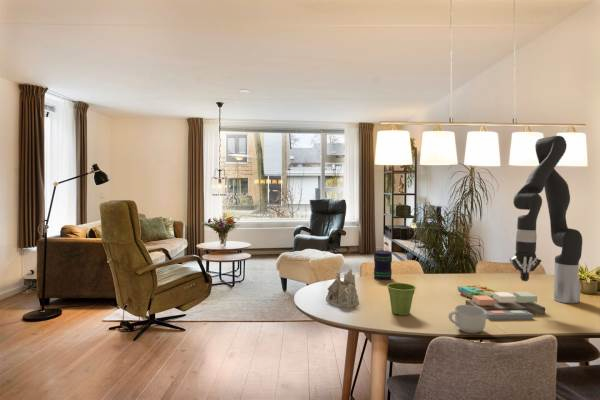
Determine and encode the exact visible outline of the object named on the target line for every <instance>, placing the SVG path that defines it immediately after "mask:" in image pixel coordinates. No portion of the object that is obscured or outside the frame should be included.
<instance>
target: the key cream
mask: <svg viewBox="0 0 600 400" xmlns="http://www.w3.org/2000/svg"><path fill="white" fill-rule="evenodd" d="M493 298H494V299H496V300H498V301H499V302H516V300H517V299H516V296H514V295H513V293H510V292H508V291H507V292H505V291H504V292H503V291H502V292H501V291H497V292H493Z"/></svg>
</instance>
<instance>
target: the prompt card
mask: <svg viewBox="0 0 600 400" xmlns="http://www.w3.org/2000/svg"><path fill="white" fill-rule="evenodd" d="M486 312H487V314H486V320H488V321H491V320H492V321H493V320H499V321H500V320H534V314H532V313H530V312H528V311H526V310H512V311H486Z"/></svg>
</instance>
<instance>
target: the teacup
mask: <svg viewBox="0 0 600 400" xmlns="http://www.w3.org/2000/svg"><path fill="white" fill-rule="evenodd" d="M486 314H487V312H486V311H485V310H484V309H482V308H480V307H476V306H471V305H465V304H458V305H456V306H455V307H454V310H451V311H450V312H449V313H448V320H449V321H450V322H451V323H452V324H454V325H455V327H458V328H459V330H460V331H462V332H463V333H466V334H468V333H469V334H478V333H480V332H482V331H484V329H485V328H486V322H487V319H486ZM453 315H454V319H453Z"/></svg>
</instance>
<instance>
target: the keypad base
mask: <svg viewBox="0 0 600 400" xmlns="http://www.w3.org/2000/svg"><path fill="white" fill-rule="evenodd" d="M464 305H471V306H476V307H480V308H482V309H484V310H485V311H512V310H526V311H528V312H530V313H532V314H533V315H545V314H546V307H544V306H542V305H540V304H538V303H537V302H521V301H519V300H517V299H516V302H499V301H498V300H495V305H487V306H479V305H478V304H476V303H475V302H473V301H472V299H470V300H469V299H466V300H465V304H464Z"/></svg>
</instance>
